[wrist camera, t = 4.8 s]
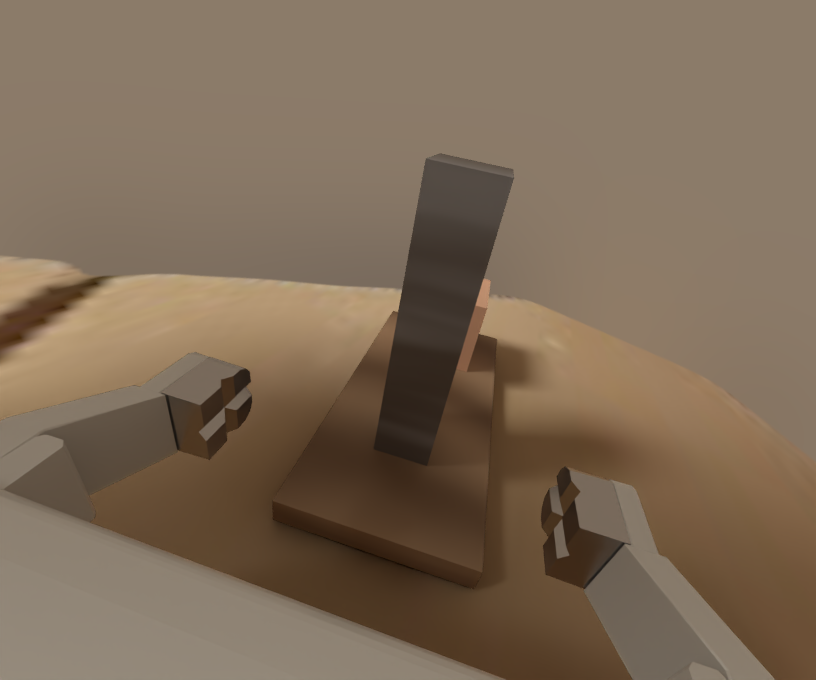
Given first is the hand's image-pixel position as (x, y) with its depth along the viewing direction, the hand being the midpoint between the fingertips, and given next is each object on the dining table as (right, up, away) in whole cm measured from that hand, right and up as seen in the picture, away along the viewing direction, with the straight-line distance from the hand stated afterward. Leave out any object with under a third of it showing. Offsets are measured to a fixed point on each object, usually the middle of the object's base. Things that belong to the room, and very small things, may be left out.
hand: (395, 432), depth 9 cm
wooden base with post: (+1, -2, +12) cm, 12 cm away
